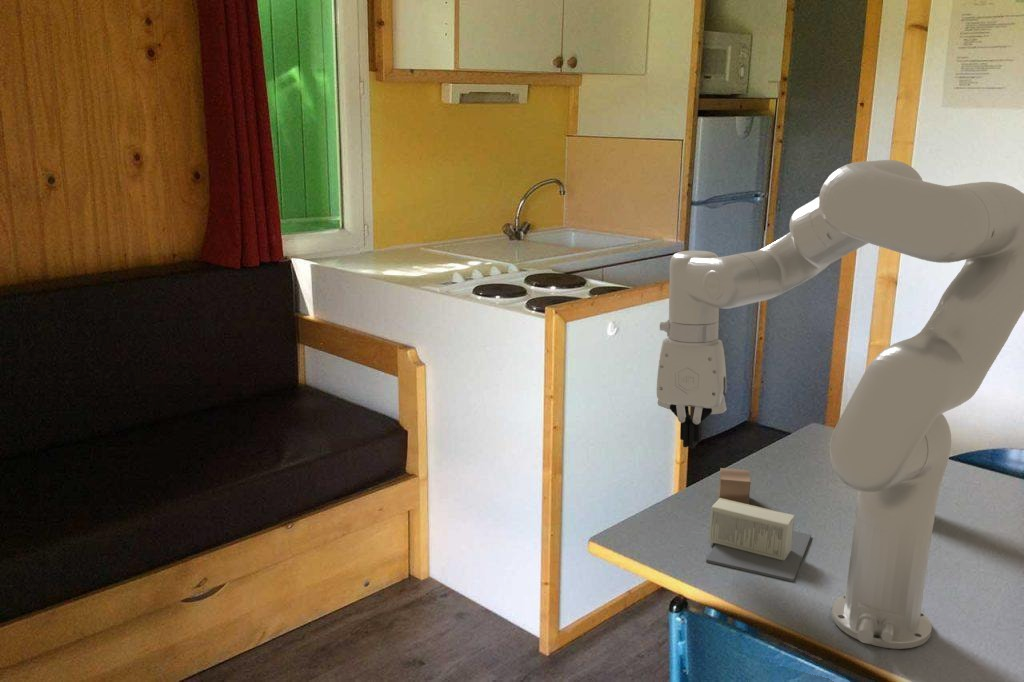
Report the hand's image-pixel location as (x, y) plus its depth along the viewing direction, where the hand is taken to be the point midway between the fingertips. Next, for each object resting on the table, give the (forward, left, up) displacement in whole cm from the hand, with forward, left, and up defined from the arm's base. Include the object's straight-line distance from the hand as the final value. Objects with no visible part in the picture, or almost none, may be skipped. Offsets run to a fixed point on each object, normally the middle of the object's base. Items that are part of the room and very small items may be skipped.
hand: (690, 444), depth 146 cm
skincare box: (0, -4, -12) cm, 13 cm away
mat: (0, -12, -15) cm, 20 cm away
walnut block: (+16, -4, -16) cm, 23 cm away
